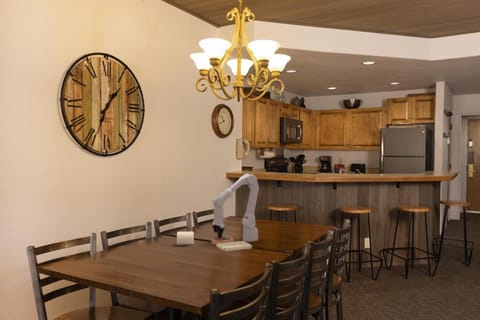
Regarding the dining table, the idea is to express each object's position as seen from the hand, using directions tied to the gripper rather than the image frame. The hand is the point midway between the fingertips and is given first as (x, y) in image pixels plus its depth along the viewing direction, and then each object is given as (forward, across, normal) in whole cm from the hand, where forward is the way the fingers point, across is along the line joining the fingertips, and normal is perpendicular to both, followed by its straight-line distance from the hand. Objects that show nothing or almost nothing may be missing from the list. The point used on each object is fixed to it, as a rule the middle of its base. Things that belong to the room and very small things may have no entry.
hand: (218, 237), depth 244 cm
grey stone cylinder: (+4, 0, +5) cm, 6 cm away
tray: (+4, +14, +5) cm, 16 cm away
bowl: (+4, 0, +3) cm, 5 cm away
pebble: (+1, 0, 0) cm, 1 cm away
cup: (+1, -7, -14) cm, 16 cm away
